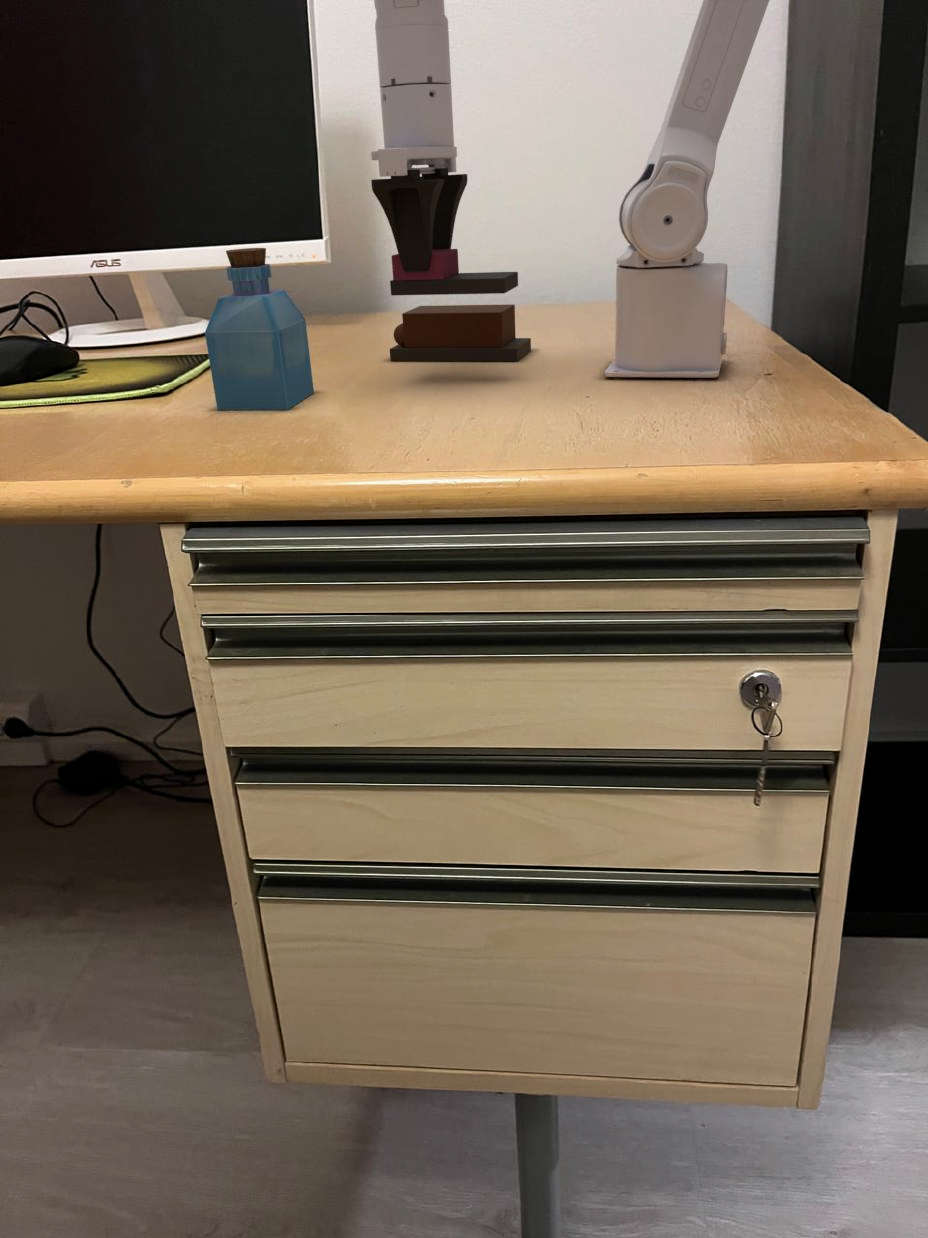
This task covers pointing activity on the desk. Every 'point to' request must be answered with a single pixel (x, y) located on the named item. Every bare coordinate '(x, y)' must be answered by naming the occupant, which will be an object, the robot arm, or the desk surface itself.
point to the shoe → (459, 334)
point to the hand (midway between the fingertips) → (426, 267)
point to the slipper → (448, 278)
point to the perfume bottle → (257, 341)
